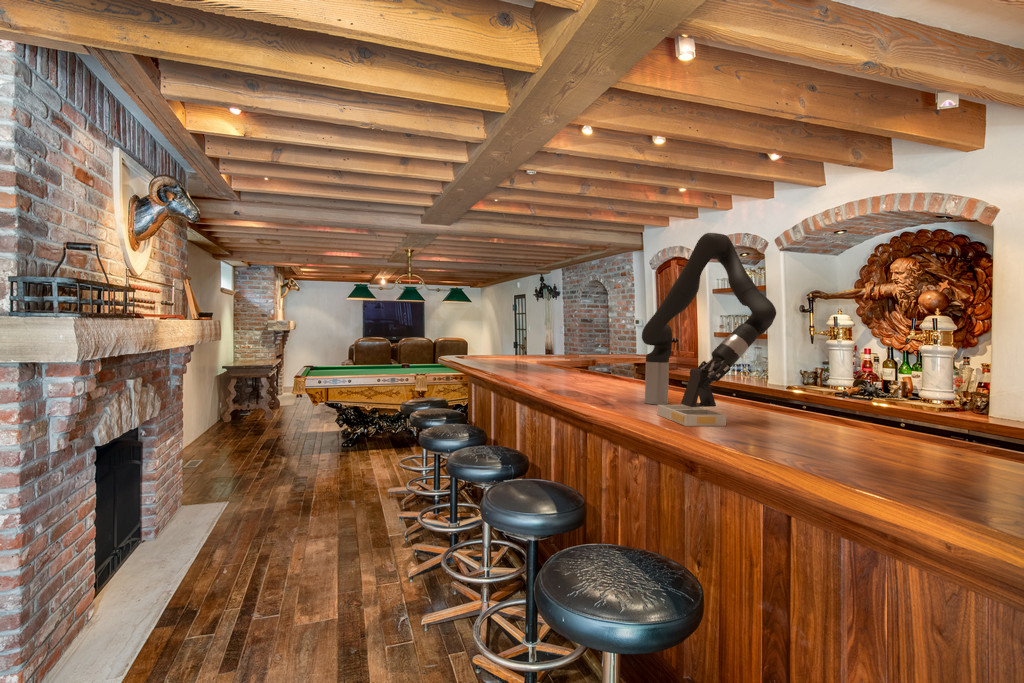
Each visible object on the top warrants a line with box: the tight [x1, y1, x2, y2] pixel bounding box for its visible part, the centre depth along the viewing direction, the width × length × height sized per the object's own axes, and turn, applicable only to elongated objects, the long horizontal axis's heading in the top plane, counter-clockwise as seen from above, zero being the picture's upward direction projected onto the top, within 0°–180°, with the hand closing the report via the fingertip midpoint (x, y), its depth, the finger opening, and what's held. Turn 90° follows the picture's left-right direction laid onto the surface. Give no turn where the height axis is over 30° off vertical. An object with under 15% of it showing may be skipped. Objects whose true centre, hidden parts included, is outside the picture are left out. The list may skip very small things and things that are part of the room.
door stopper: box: [680, 367, 717, 408], centre depth 159 cm, size 9×6×12 cm, turn 100°
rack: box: [656, 404, 727, 427], centre depth 164 cm, size 21×14×4 cm, turn 8°
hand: (695, 386), depth 159 cm, fingers closed on door stopper, 6 cm apart
